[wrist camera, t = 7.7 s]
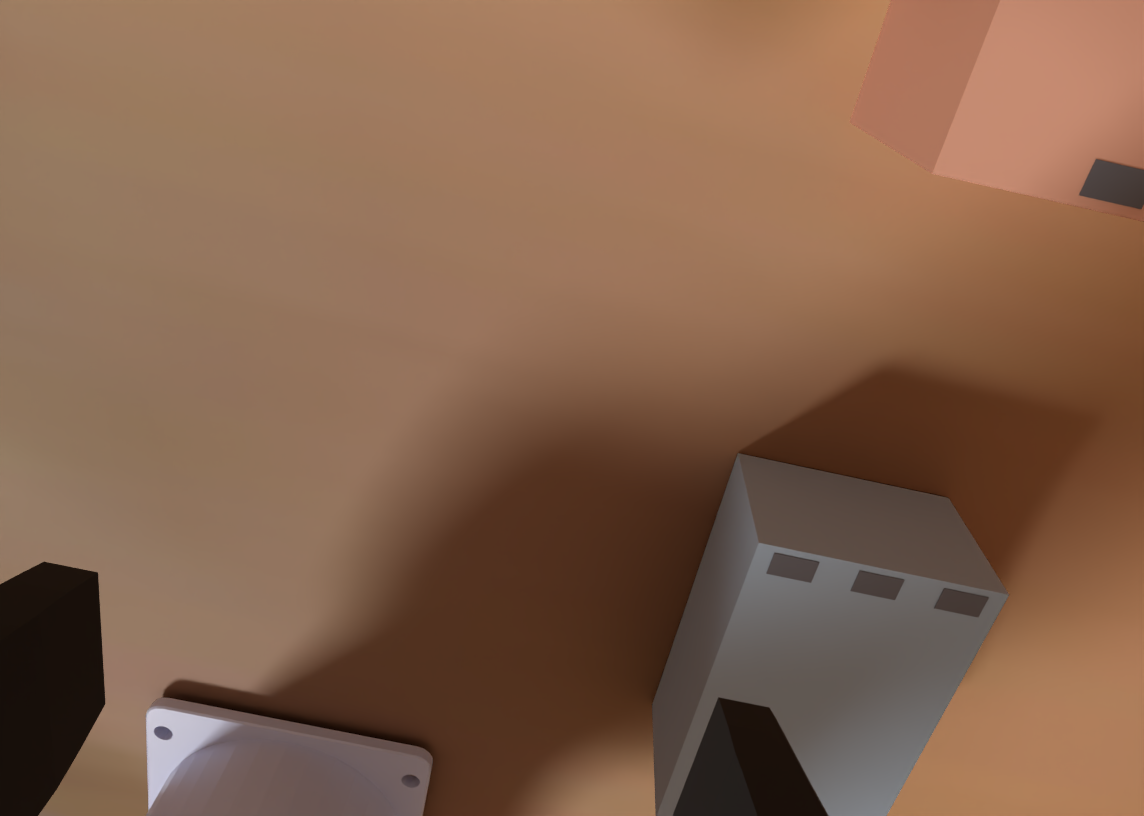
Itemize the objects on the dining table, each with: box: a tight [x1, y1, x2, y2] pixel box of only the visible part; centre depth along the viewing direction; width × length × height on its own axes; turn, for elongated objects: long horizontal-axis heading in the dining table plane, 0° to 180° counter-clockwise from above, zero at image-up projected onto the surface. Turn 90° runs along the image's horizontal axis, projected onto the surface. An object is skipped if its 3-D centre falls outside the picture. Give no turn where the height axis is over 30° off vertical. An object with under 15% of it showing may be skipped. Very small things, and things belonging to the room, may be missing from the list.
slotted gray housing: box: [652, 453, 1009, 816], centre depth 20 cm, size 8×5×4 cm, turn 168°
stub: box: [850, 0, 1144, 222], centre depth 13 cm, size 4×5×5 cm
